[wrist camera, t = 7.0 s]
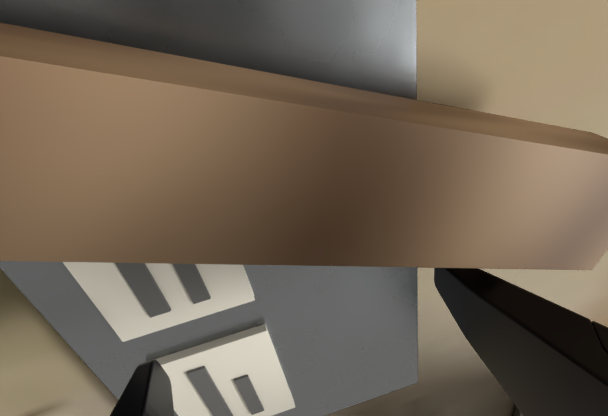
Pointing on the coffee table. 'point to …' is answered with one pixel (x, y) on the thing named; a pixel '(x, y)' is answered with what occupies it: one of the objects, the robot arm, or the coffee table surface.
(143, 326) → the label
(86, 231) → the bar
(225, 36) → the chassis lid
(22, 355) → the coffee table surface
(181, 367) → the label
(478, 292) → the robot arm
